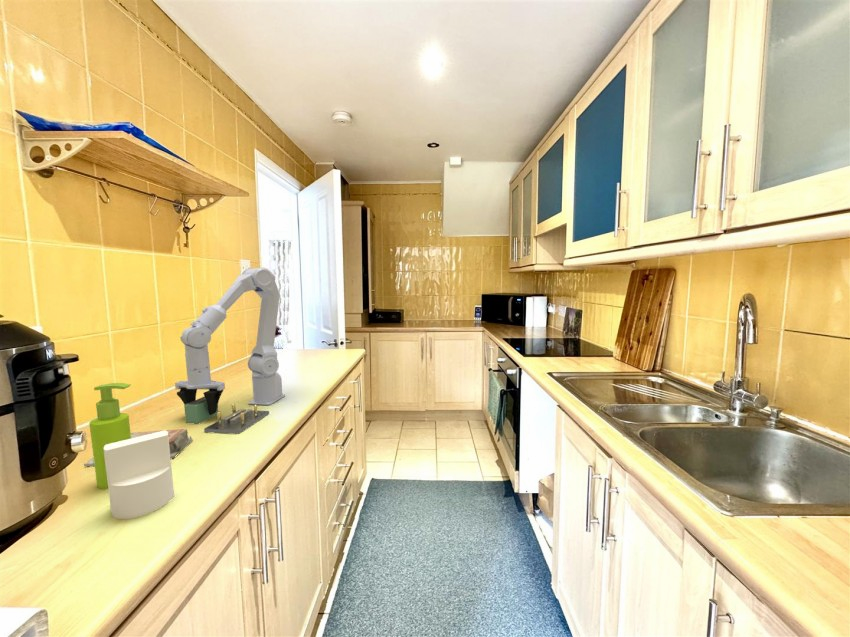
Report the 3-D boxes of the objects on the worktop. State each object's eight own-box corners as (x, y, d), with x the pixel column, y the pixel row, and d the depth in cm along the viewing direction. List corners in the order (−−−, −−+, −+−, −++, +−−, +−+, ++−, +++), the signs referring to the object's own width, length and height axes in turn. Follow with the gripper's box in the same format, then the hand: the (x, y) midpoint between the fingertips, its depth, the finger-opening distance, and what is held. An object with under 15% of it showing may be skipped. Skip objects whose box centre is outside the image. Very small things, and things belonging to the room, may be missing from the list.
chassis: (238, 412, 109) (237, 399, 109) (269, 414, 108) (268, 400, 107) (204, 432, 95) (203, 417, 95) (238, 434, 94) (237, 418, 94)
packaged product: (192, 423, 90) (172, 441, 81) (194, 441, 91) (174, 461, 81) (112, 429, 88) (80, 448, 78) (114, 448, 88) (83, 469, 78)
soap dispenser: (129, 486, 71) (117, 387, 68) (89, 490, 69) (76, 390, 67) (147, 470, 76) (137, 379, 74) (110, 474, 75) (99, 381, 73)
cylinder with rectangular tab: (170, 483, 72) (164, 425, 70) (178, 503, 65) (171, 439, 64) (110, 502, 65) (103, 439, 64) (112, 526, 59) (104, 457, 58)
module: (206, 413, 110) (205, 395, 109) (218, 413, 109) (217, 395, 108) (186, 423, 102) (184, 404, 101) (198, 424, 101) (196, 404, 101)
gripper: (164, 370, 101) (169, 417, 102) (210, 371, 99) (214, 419, 100) (184, 364, 108) (188, 408, 109) (228, 365, 106) (231, 410, 107)
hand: (202, 413), depth 105 cm, fingers open, 6 cm apart
